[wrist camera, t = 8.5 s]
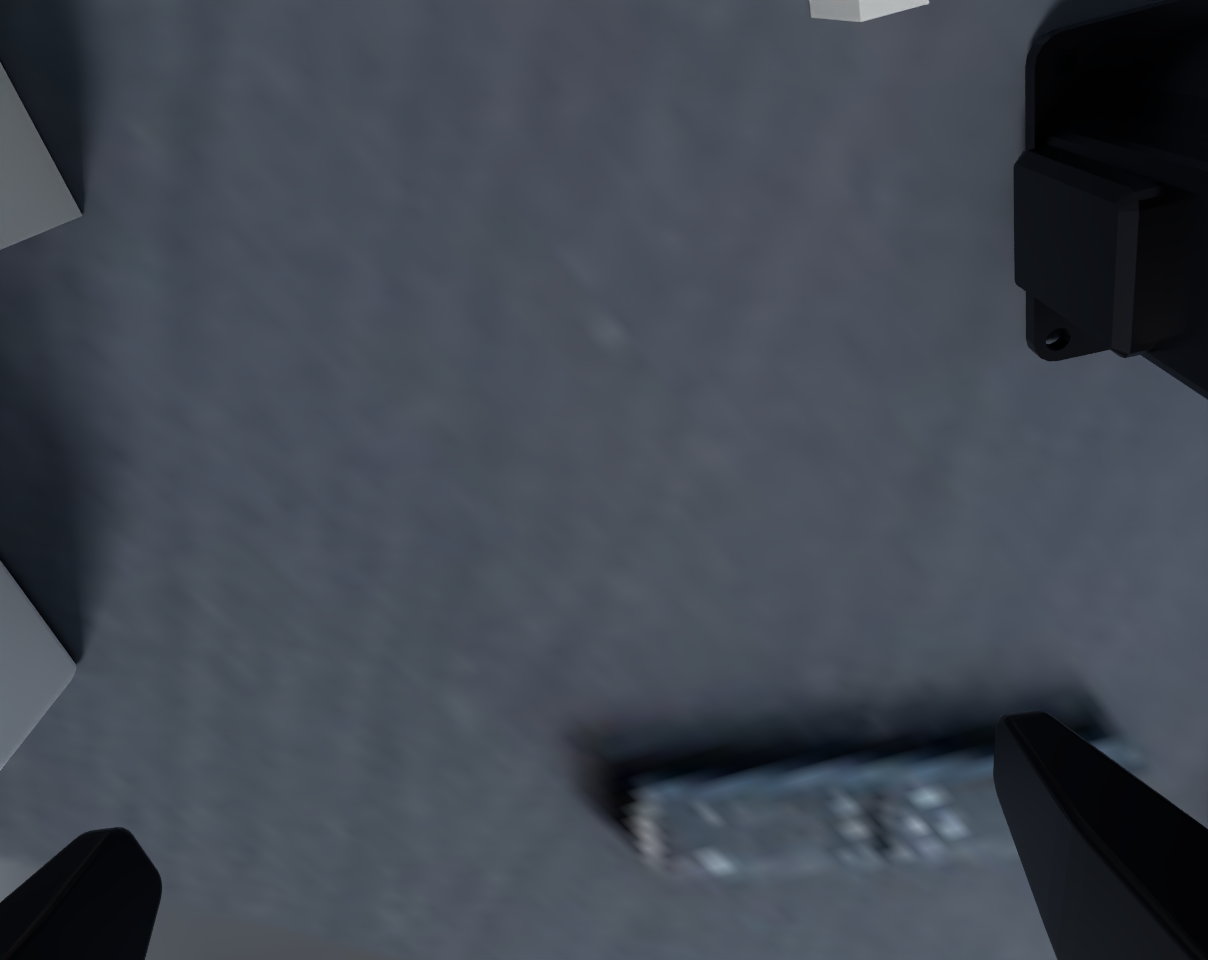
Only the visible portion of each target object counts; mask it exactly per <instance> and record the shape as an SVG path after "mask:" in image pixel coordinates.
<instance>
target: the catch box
mask: <svg viewBox="0 0 1208 960" xmlns="http://www.w3.org/2000/svg"><path fill="white" fill-rule="evenodd" d="M809 1H810V10H811V18H822V19H833V20H844V21H855V22H863V21H866V20H870V19H874V18H877V17H881V16H885V15H888V14H892V13H896V12H900V11H903V10H907V9H911V8H914V7H918V6H922V5H926V4H929V0H809ZM81 216H82V214H81V212H80V210H79V208H78V206H77V204H76V203H75V201H74V199H73V197H72V195H71V193H70V191H69V189H68V188H67V186H66V184H65V182H64V180H63V178H62V176H61V175H60V173H59V171H58V169H57V167H56V165H55V163H54V161H53V160H52V158H51V156H50V154H49V152H48V150H47V148H46V146H45V145H44V143H43V141H42V139H41V137H40V135H39V133H38V132H37V130H36V128H35V126H34V124H33V122H32V120H31V118H30V117H29V115H28V113H27V111H26V109H25V107H24V105H23V103H22V102H21V100H20V98H19V96H18V94H17V92H16V90H15V89H14V87H13V85H12V83H11V81H10V79H9V77H8V75H7V74H6V72H5V70H4V68H3V66H2V64H1V62H0V250H1V249H4V248H6V247H9V246H11V245H13V244H16V243H18V242H21V241H23V240H25V239H28V238H30V237H33V236H35V235H38V234H40V233H42V232H45V231H47V230H50V229H52V228H54V227H57V226H59V225H62V224H64V223H67V222H69V221H71V220H74V219H76V218H79V217H81Z"/></svg>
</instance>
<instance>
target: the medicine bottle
mask: <svg viewBox="0 0 1208 960" xmlns="http://www.w3.org/2000/svg"><path fill="white" fill-rule="evenodd" d="M76 669H77V667H76V664H75V662H74V661H73V660H72V658H71V657H70V656H69V654H68V653H67V651H66V650H65V649H64V647H63V646H62V644H61V643H60V642H59V640H58V639H57V638H56V636H55V635H54V633H53V632H52V631H51V629H50V628H49V627H48V625H47V624H46V622H45V621H44V620H43V618H42V617H41V616H40V614H39V613H38V611H37V610H36V609H35V607H34V606H33V605H32V603H31V602H30V600H29V599H28V598H27V596H26V595H25V594H24V592H23V591H22V589H21V588H20V587H19V585H18V584H17V582H16V581H15V580H14V578H13V577H12V576H11V574H10V573H9V571H8V570H7V569H6V567H5V566H4V565H3V563H2V562H1V560H0V770H1V769H2V768H3V766H4V765H5V764H6V762H7V761H8V760H9V759H10V757H11V756H12V755H13V754H14V752H15V751H16V750H17V748H18V747H19V746H20V745H21V743H22V742H23V741H24V740H25V738H26V737H27V736H28V734H29V733H30V732H31V731H32V729H33V728H34V727H35V726H36V724H37V723H38V722H39V720H40V719H41V718H42V717H43V715H44V714H45V713H46V712H47V710H48V709H49V708H50V706H51V705H52V704H53V703H54V701H55V700H56V699H57V698H58V696H59V695H60V694H61V692H62V691H63V690H64V689H65V687H66V686H67V685H68V684H69V682H70V681H71V680H72V679H73V677H74V674H75V672H76Z"/></svg>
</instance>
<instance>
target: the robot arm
mask: <svg viewBox="0 0 1208 960" xmlns="http://www.w3.org/2000/svg"><path fill="white" fill-rule="evenodd" d="M1061 46H1063V47H1064V48H1066V52H1067V59H1066V63H1065V65H1064V66H1063V67H1062V69H1061V70H1060V71H1058V72H1056V73H1054V74H1052V73H1051V72H1050V69H1049V65H1048V64H1049V60H1050V56H1051V55H1052V54H1053V52H1054V51H1055V50H1056V49H1057V48H1059V47H1061ZM1025 110H1026V151H1023V152H1022V154H1021V155H1020V157H1019V158H1018V160H1017V161H1016V163H1015V165H1014V262H1015V283H1016V285H1018V286H1019V287H1021V288H1022V289H1023V290H1025V291H1026V340H1027V344H1028V347H1029V348H1030V349H1031V350H1032V351H1033V352H1034V353H1035V354H1036V355H1038V356H1039V357H1040V358H1042V359H1044V360H1047V361H1059V360H1064V359H1069V358H1073V357H1078V356H1082V355H1087V354H1092V353H1096V352H1101V351H1106V350H1111V351H1113V352H1114V353H1115V354H1117V355H1118V356H1120V357H1123V358H1127V357H1132V356H1136V355H1141V356H1143V357H1144V358H1146V359H1147V360H1149V361H1150V362H1152V363H1153V364H1155V365H1156V366H1158V367H1159V368H1161V369H1162V370H1164V371H1166V372H1167V373H1169V374H1170V375H1172V376H1173V377H1175V378H1176V379H1178V380H1179V381H1181V382H1182V383H1184V384H1185V385H1187V386H1188V387H1190V388H1191V389H1193V390H1194V391H1196V392H1197V393H1199V394H1200V395H1202V396H1203V397H1205V398H1206V399H1208V0H1166V1H1162V2H1159V3H1155V4H1151V5H1147V6H1143V7H1139V8H1136V9H1132V10H1128V11H1124V12H1120V13H1116V14H1113V15H1109V16H1105V17H1101V18H1097V19H1094V20H1090V21H1086V22H1082V23H1078V24H1074V25H1071V26H1067V27H1063V28H1059V29H1055V30H1052V31H1050V32H1048V33H1046V34H1044V35H1042V36H1041V37H1040V38H1039V39H1038V40H1037V41H1036V42H1035V43H1034V44H1033V46H1032V48H1031V49H1030V51H1029V53H1028V55H1027V60H1026V66H1025ZM1058 328H1062V332H1061V336H1060V337H1059V338H1058V339H1057V340H1056V341H1055V342H1053V343H1051V344H1046V339H1047V336H1048V335H1049V334H1050V333H1051V332H1052V331H1053V330H1055V329H1058ZM993 776H994V783H995V788H996V792H997V796H998V799H999V802H1000V804H1001V807H1002V810H1003V813H1004V815H1005V818H1006V821H1007V824H1008V827H1009V829H1010V832H1011V835H1012V838H1013V840H1014V843H1015V846H1016V849H1017V851H1018V854H1019V857H1020V860H1021V862H1022V865H1023V868H1024V871H1025V873H1026V876H1027V879H1028V882H1029V885H1030V887H1031V890H1032V893H1033V896H1034V898H1035V901H1036V904H1037V907H1038V909H1039V912H1040V915H1041V918H1042V920H1043V923H1044V926H1045V929H1046V931H1047V934H1048V937H1049V939H1050V942H1051V944H1052V947H1053V950H1054V952H1055V955H1056V957H1057V959H1058V960H1208V829H1207V828H1205V827H1204V826H1203V825H1201V824H1200V823H1199V822H1197V821H1196V820H1195V819H1193V818H1192V817H1190V816H1189V815H1188V814H1186V813H1185V812H1184V811H1182V810H1181V809H1179V808H1178V807H1177V806H1175V805H1174V804H1173V803H1171V802H1170V801H1168V800H1167V799H1166V798H1164V797H1163V796H1162V795H1160V794H1159V793H1157V792H1156V791H1155V790H1153V789H1152V788H1151V787H1149V786H1148V785H1146V784H1145V783H1144V782H1142V781H1141V780H1140V779H1138V778H1137V777H1135V776H1134V775H1133V774H1131V773H1130V772H1129V771H1127V770H1126V769H1125V768H1123V767H1122V766H1120V765H1119V764H1118V763H1116V762H1115V761H1114V760H1112V759H1111V758H1109V757H1108V756H1107V755H1105V754H1104V753H1103V752H1101V751H1100V750H1098V749H1097V748H1096V747H1094V746H1093V745H1092V744H1090V743H1089V742H1087V741H1086V740H1085V739H1083V738H1082V737H1081V736H1079V735H1078V734H1076V733H1075V732H1074V731H1072V730H1071V729H1070V728H1068V727H1067V726H1065V725H1064V724H1063V723H1061V722H1060V721H1059V720H1057V719H1056V718H1055V717H1053V716H1052V715H1050V714H1049V713H1046V712H1044V711H1041V710H1031V711H1023V712H1015V713H1007V714H1003V715H1001V716H1000V717H999V718H998V720H997V723H996V731H995V750H994V768H993ZM161 894H162V882H161V877H160V874H159V872H158V870H157V869H156V867H155V866H154V865H153V863H152V862H151V860H150V859H149V857H148V856H147V854H146V853H145V852H144V850H143V849H142V847H141V846H140V844H139V843H138V841H137V840H136V839H135V837H134V836H133V834H132V833H131V832H130V831H129V830H127V829H125V828H122V827H115V828H107V829H99V830H92V831H88V832H86V833H83V834H81V835H80V836H78V837H77V838H76V839H74V840H73V841H72V842H71V843H70V844H69V845H67V846H66V847H65V848H64V849H63V850H62V851H60V852H59V853H58V854H57V855H56V856H54V857H53V858H52V859H51V860H50V861H49V862H47V863H46V864H45V865H44V866H43V867H42V868H40V869H39V870H38V871H37V872H36V873H35V874H33V875H32V876H31V877H30V878H29V879H28V880H26V881H25V882H24V883H23V884H22V885H20V886H19V887H18V888H17V889H16V890H15V891H14V892H12V893H11V894H10V895H9V896H7V897H6V898H5V899H4V900H3V901H2V902H1V903H0V960H145V957H146V953H147V950H148V945H149V942H150V938H151V934H152V931H153V927H154V923H155V919H156V915H157V911H158V907H159V904H160V900H161Z"/></svg>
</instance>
